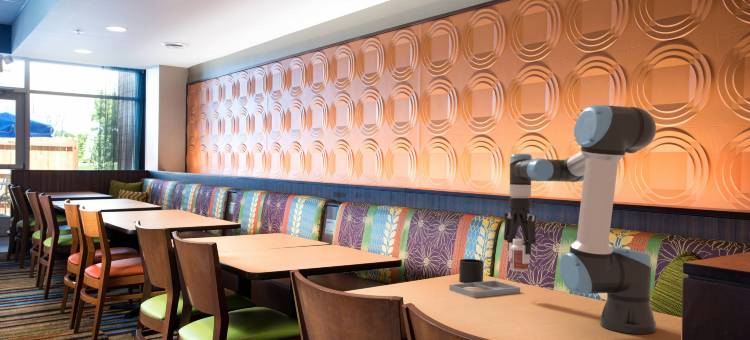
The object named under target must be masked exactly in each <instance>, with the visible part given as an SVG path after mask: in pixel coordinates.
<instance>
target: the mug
mask: <svg viewBox="0 0 750 340" xmlns="http://www.w3.org/2000/svg"><path fill="white" fill-rule="evenodd" d="M484 263H485V262H484V260H482V259H474V258H462V259H459V267H458V270H459V274H458V275H459V277H458V279H459V281H458V282H459V283H460V284H464V283H474V282H484Z"/></svg>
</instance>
